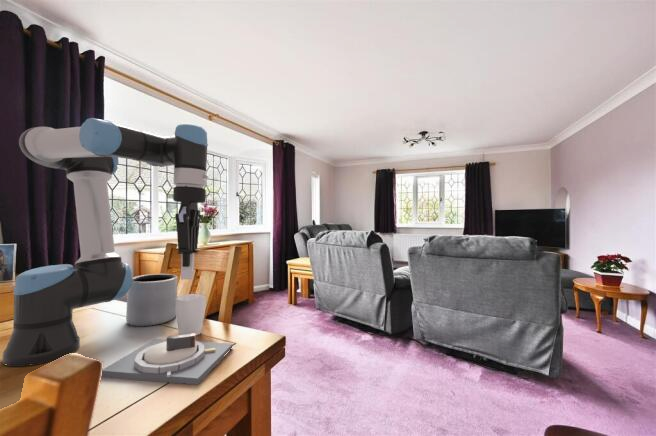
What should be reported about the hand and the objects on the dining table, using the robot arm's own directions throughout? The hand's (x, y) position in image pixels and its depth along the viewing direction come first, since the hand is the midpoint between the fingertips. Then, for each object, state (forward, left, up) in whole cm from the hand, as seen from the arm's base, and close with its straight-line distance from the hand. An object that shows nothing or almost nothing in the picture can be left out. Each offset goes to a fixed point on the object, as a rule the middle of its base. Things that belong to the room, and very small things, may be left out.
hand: (187, 278), depth 76 cm
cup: (-10, +20, -23) cm, 32 cm away
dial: (-4, +1, -21) cm, 21 cm away
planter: (-31, +30, -23) cm, 49 cm away
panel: (-4, +2, -22) cm, 23 cm away
